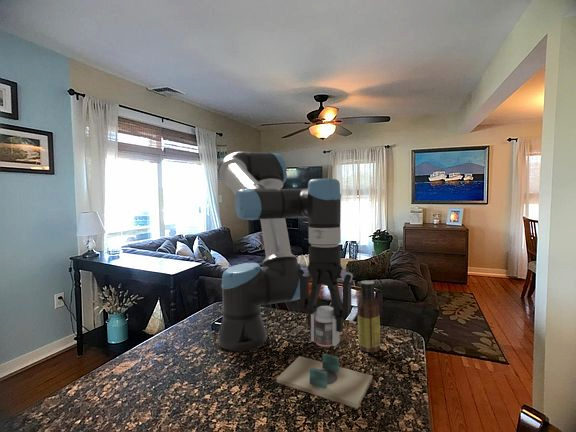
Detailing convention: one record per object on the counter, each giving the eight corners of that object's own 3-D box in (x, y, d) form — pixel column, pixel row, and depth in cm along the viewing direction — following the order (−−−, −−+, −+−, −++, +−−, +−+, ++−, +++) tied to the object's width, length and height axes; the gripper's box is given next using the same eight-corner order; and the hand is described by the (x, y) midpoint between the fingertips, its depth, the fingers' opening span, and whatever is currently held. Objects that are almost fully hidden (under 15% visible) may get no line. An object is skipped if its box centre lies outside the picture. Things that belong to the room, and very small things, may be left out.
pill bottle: (311, 340, 78) (311, 306, 77) (328, 337, 80) (328, 304, 79) (321, 348, 73) (321, 313, 73) (338, 344, 75) (338, 310, 75)
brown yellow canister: (378, 344, 96) (378, 279, 95) (382, 354, 90) (383, 285, 89) (356, 343, 97) (356, 278, 95) (358, 353, 91) (358, 284, 89)
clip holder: (276, 382, 77) (276, 364, 77) (299, 359, 88) (299, 343, 87) (357, 408, 68) (357, 388, 67) (372, 379, 78) (372, 361, 78)
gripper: (283, 244, 76) (285, 340, 78) (356, 249, 68) (356, 356, 69) (298, 240, 83) (299, 328, 84) (366, 244, 74) (366, 342, 76)
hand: (325, 341), depth 77 cm, fingers closed on pill bottle, 5 cm apart
